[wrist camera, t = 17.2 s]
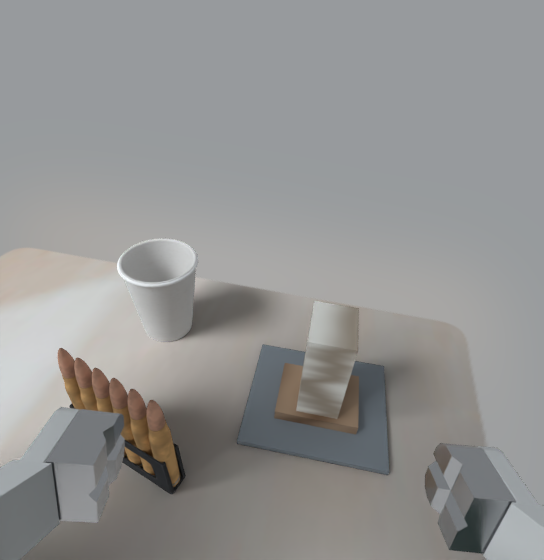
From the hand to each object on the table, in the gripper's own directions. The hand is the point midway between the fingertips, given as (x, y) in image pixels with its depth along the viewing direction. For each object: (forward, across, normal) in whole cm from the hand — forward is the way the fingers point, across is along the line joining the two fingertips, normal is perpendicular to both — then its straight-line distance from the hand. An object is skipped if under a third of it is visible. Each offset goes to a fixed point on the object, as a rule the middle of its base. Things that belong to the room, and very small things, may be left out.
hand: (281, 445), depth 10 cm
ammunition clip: (+18, +10, +22) cm, 31 cm away
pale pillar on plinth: (+24, -7, +19) cm, 31 cm away
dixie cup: (+34, +11, +18) cm, 40 cm away
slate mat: (+24, -7, +19) cm, 32 cm away
